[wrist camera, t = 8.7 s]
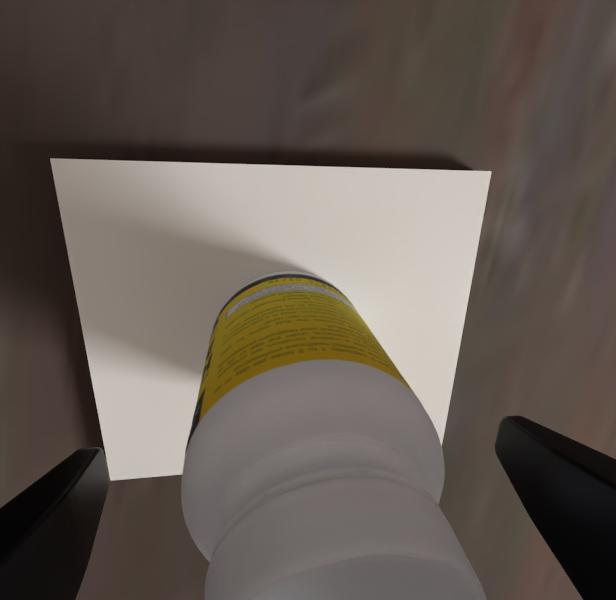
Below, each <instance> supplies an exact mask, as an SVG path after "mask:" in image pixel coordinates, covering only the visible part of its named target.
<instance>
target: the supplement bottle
mask: <svg viewBox="0 0 616 600" xmlns="http://www.w3.org/2000/svg"><path fill="white" fill-rule="evenodd" d="M444 474H445V472H444V456H443V450H442V446H441V443H440V439H439V436H438V433H437V431H436V429H435V427H434V424H433V422H432V420H431V419H430V417H429V415H428V414H427V412H426V410H425V409H424V407H423V405H422V404H421V402H420V400H419V399H418V398H417V396H416V395H415V393H414V392H413V390H412V389H411V387H410V386H409V385H408V383H407V382H406V380H405V379H404V378H403V376H402V375H401V373H400V372H399V371H398V369H397V368H396V366H395V365H394V363H393V362H392V360H391V359H390V358H389V356H388V355H387V353H386V352H385V350H384V349H383V348H382V346H381V345H380V343H379V342H378V340H377V339H376V337H375V336H374V334H373V333H372V332H371V330H370V329H369V327H368V326H367V324H366V323H365V321H364V320H363V319H362V317H361V316H360V314H359V313H358V311H357V310H356V309H355V307H354V306H353V304H352V303H351V302H350V301H349V299H348V298H347V297H346V296H345V295H344V294H343V293H342V292H341V291H340V290H339V289H338V288H337V287H336V286H334V285H333V284H332V283H330V282H328V281H327V280H325V279H323V278H321V277H318V276H316V275H313V274H309V273H305V272H298V271H280V272H274V273H270V274H266V275H263V276H260V277H258V278H256V279H254V280H252V281H250V282H248V283H246V284H245V285H243V286H242V287H240V288H239V289H238V290H237V291H236V292H234V293H233V294H232V295H231V296H230V297H229V299H228V300H227V301H226V302H225V303H224V305H223V306H222V308H221V310H220V312H219V313H218V316H217V318H216V320H215V323H214V326H213V330H212V334H211V337H210V341H209V347H208V352H207V356H206V360H205V366H204V369H203V374H202V379H201V384H200V389H199V394H198V399H197V403H196V408H195V412H194V416H193V420H192V426H191V429H190V434H189V437H188V441H187V446H186V450H185V459H184V466H183V472H182V479H181V502H182V508H183V514H184V518H185V522H186V525H187V527H188V530H189V532H190V534H191V537H192V539H193V540H194V542H195V544H196V545H197V547H198V548H199V550H200V551H201V553H202V554H203V555H204V556H205V557H206V559H207V560H208V561H209V562H210V565H209V567H208V571H207V575H206V581H205V588H204V592H205V600H486V596H485V594H484V591H483V588H482V585H481V583H480V581H479V579H478V577H477V575H476V574H475V572H474V570H473V568H472V566H471V564H470V562H469V560H468V559H467V557H466V555H465V553H464V551H463V549H462V547H461V545H460V543H459V541H458V540H457V538H456V536H455V534H454V532H453V530H452V528H451V526H450V524H449V523H448V521H447V519H446V518H445V516H444V515H443V513H442V512H441V509H440V507H439V501H440V498H441V494H442V489H443V484H444Z"/></svg>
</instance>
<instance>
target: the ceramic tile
mask: <svg viewBox="0 0 616 600" xmlns="http://www.w3.org/2000/svg"><path fill="white" fill-rule="evenodd" d="M50 161H51V167H52V172H53V177H54V182H55V188H56V193H57V198H58V204H59V209H60V214H61V220H62V225H63V230H64V236H65V241H66V246H67V252H68V257H69V262H70V268H71V273H72V278H73V284H74V289H75V294H76V300H77V305H78V310H79V315H80V321H81V326H82V331H83V337H84V342H85V347H86V353H87V358H88V363H89V369H90V374H91V379H92V385H93V390H94V395H95V401H96V406H97V411H98V417H99V422H100V427H101V432H102V438H103V443H104V448H105V454H106V459H107V464H108V470H109V475H110V480H123V479H134V478H146V477H157V476H168V475H180V474H182V472H183V466H184V459H185V450H186V446H187V441H188V437H189V434H190V429H191V426H192V420H193V416H194V412H195V408H196V403H197V399H198V394H199V389H200V384H201V379H202V374H203V369H204V366H205V360H206V356H207V352H208V347H209V341H210V337H211V334H212V330H213V326H214V323H215V320H216V318H217V316H218V313H219V312H220V310H221V308H222V306H223V305H224V303H225V302H226V301H227V300H228V299H229V297H230V296H231V295H232V294H233V293H234V292H236V291H237V290H238V289H239V288H240V287H242V286H243V285H245V284H246V283H248V282H250V281H252V280H254V279H256V278H258V277H260V276H263V275H266V274H270V273H274V272H280V271H298V272H305V273H309V274H313V275H316V276H318V277H321V278H323V279H325V280H327V281H328V282H330V283H332V284H333V285H334V286H336V287H337V288H338V289H339V290H340V291H341V292H342V293H343V294H344V295H345V296H346V297H347V298H348V299H349V301H350V302H351V303H352V304H353V306H354V307H355V309H356V310H357V311H358V313H359V314H360V316H361V317H362V319H363V320H364V321H365V323H366V324H367V326H368V327H369V329H370V330H371V332H372V333H373V334H374V336H375V337H376V339H377V340H378V342H379V343H380V345H381V346H382V348H383V349H384V350H385V352H386V353H387V355H388V356H389V358H390V359H391V360H392V362H393V363H394V365H395V366H396V368H397V369H398V371H399V372H400V373H401V375H402V376H403V378H404V379H405V380H406V382H407V383H408V385H409V386H410V387H411V389H412V390H413V392H414V393H415V395H416V396H417V398H418V399H419V400H420V402H421V404H422V405H423V407H424V409H425V410H426V412H427V414H428V415H429V417H430V419H431V420H432V422H433V424H434V427H435V429H436V431H437V433H438V436H439V439H440V443H441V446H442V442H443V436H444V431H445V425H446V420H447V414H448V409H449V403H450V398H451V392H452V387H453V381H454V376H455V370H456V365H457V359H458V354H459V348H460V342H461V337H462V331H463V326H464V320H465V315H466V309H467V304H468V298H469V293H470V287H471V282H472V276H473V271H474V265H475V260H476V254H477V249H478V243H479V237H480V232H481V226H482V221H483V215H484V210H485V204H486V199H487V193H488V188H489V182H490V177H491V171H468V170H433V169H399V168H365V167H331V166H297V165H263V164H229V163H195V162H161V161H127V160H93V159H56V158H50Z"/></svg>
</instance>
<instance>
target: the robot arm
mask: <svg viewBox="0 0 616 600" xmlns="http://www.w3.org/2000/svg"><path fill="white" fill-rule="evenodd" d="M495 452H496V454H497V457H498V459H499V460H500V462H501V464H502V466H503V468H504V470H505V472H506V474H507V475H508V477H509V479H510V481H511V483H512V485H513V487H514V489H515V491H516V492H517V494H518V496H519V498H520V500H521V502H522V504H523V506H524V507H525V509H526V511H527V513H528V514H529V516H530V518H531V519H532V521H533V523H534V524H535V526H536V528H537V529H538V531H539V532H540V534H541V535H542V537H543V538H544V540H545V541H546V543H547V544H548V546H549V548H550V549H551V551H552V552H553V554H554V555H555V557H556V558H557V560H558V561H559V563H560V564H561V566H562V568H563V569H564V571H565V572H566V574H567V575H568V577H569V578H570V580H571V581H572V583H573V585H574V586H575V588H576V589H577V591H578V592H579V594H580V595H581V597H582V598H583V600H616V459H614V458H612V457H609V456H607V455H605V454H603V453H601V452H599V451H596V450H594V449H592V448H590V447H588V446H585V445H583V444H581V443H579V442H577V441H575V440H572V439H570V438H568V437H566V436H564V435H561V434H559V433H557V432H555V431H553V430H550V429H548V428H546V427H544V426H542V425H540V424H537V423H535V422H533V421H531V420H529V419H526V418H524V417H522V416H506V417H503V418H502V419H501V421H500V424H499V428H498V432H497V436H496V441H495ZM108 486H109V478H108V472H107V467H106V462H105V456H104V452H103V450H102V449H101V448H99V447H94V448H82V449H79V450H77V451H76V452H74V453H73V454H72V455H70V456H69V457H68V458H66V459H65V460H64V461H62V462H61V463H60V464H58V465H57V466H56V467H54V468H53V469H52V470H50V471H49V472H48V473H46V474H45V475H44V476H42V477H41V478H40V479H38V480H37V481H36V482H34V483H33V484H32V485H30V486H29V487H28V488H26V489H25V490H24V491H22V492H21V493H20V494H19V495H17V496H16V497H15V498H13V499H12V500H11V501H9V502H8V503H7V504H5V505H4V506H3V507H1V508H0V600H75V599H76V596H77V593H78V591H79V588H80V585H81V583H82V580H83V577H84V574H85V571H86V569H87V565H88V562H89V558H90V555H91V551H92V547H93V544H94V540H95V536H96V532H97V529H98V525H99V521H100V517H101V514H102V510H103V506H104V503H105V499H106V495H107V491H108Z"/></svg>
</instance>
